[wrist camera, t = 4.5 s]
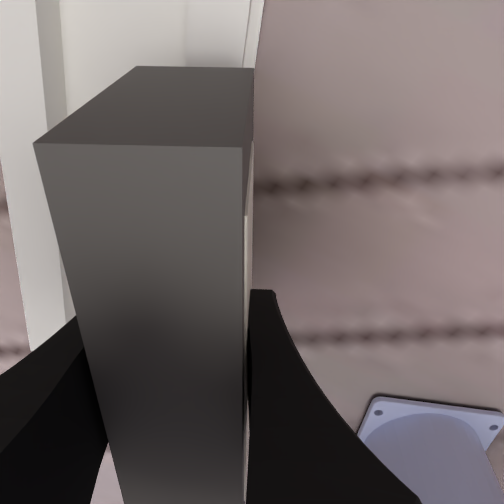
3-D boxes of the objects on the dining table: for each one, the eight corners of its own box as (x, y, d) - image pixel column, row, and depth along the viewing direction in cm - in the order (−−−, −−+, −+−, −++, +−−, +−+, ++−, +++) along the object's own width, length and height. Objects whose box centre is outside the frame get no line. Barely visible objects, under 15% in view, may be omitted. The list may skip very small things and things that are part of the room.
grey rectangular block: (251, 390, 18) (244, 558, 13) (173, 388, 18) (135, 553, 13) (255, 67, 11) (245, 147, 6) (134, 65, 12) (28, 143, 6)
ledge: (217, 332, 24) (210, 374, 22) (48, 309, 24) (22, 349, 21) (274, -75, 15) (275, -84, 12) (-4, -126, 14) (-63, -146, 12)
